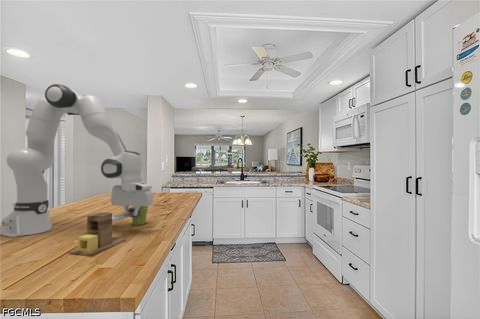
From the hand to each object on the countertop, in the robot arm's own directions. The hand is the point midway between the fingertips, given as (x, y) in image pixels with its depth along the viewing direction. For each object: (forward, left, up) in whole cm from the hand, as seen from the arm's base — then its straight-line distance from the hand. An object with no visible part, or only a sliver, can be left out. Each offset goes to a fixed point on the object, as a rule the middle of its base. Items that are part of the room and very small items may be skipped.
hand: (131, 215), depth 117 cm
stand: (0, -20, -8) cm, 21 cm away
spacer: (0, -25, -7) cm, 26 cm away
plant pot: (-6, +14, -8) cm, 18 cm away
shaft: (0, -8, -1) cm, 8 cm away
